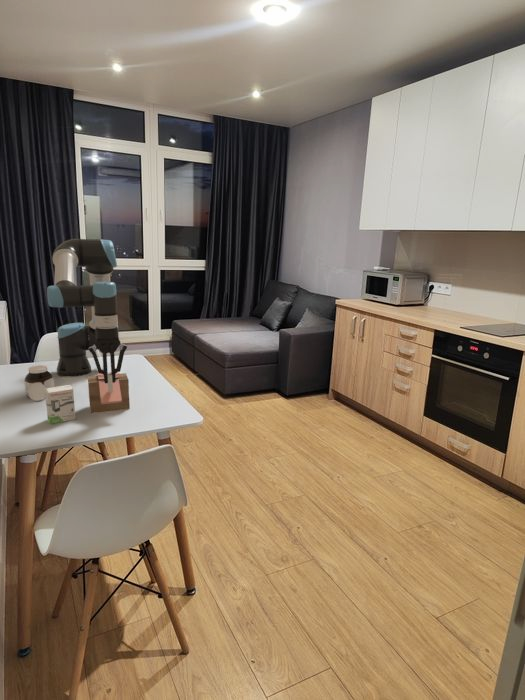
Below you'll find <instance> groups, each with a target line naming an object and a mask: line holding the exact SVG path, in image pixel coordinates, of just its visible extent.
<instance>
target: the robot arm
mask: <svg viewBox="0 0 525 700" xmlns="http://www.w3.org/2000/svg"><path fill="white" fill-rule="evenodd" d="M115 252H116V251H115V247H114V242H113V241H112V240H109V239H101V238H100V239H99V238H98V239H96V238H94V239H93V238H92V239H91V238H89V239H88V238H84V239H83V238H71V239H68V240H65V241H63V242H62V243H60V244H59V245H58V246H57V247H56V248H55V249H54V251H53V253H52V263H53V265H54V283H53V284H54V285H49V286H48V287H47V288H46V295H47V296H46V297H47V304H48V306H49V307H51V308H60V309H62V308H74V307H75V308H78V307H81V308H83V307H91V320H90V321H89V323H88V325H85V324H84V322H73V323H71V322H70V323H67V324H64V325H61V326H59V327H58V329H57V339H58V340H57V341H58V355H59V358H58V363H57V367H56V375H57V376H60V377H65V378H66V377H67V378H68V377H69V378H70V377H71V378H72V377H74V378H75V377H80V376H84V375H87V374H90V373H91V372H92V367H91V366H92V365H91V364H90V361H89V358H88V356H87V351H89V353H91V354H92V357H93V361H94V363H95V367H96V370H97V371H98V373H99V374H103V375H104V382H105V383H108V392H109V393H111V392H113V383H115V382H116V378H115V374H116V373H117V372H118V373H120V372H121V370H122V365H123V360H124V355H125V352H126V350H128V349H127V348H128V347H127V345H126V344H123V343H121V340H120V337H119V336H120V335H119V332H120V331H119V323H118V321H119V320H118V319H119V317H118V300H117V299H118V298H117V293H118V292H117V286H116V285H117V284H116V282H114V281H111V274H112V273H114V269H115V268H117V267H118V265H117V264H118V263H117V257H116V253H115ZM77 267H79V268H85V272H86V273H87V274H89V284H88V285H81V284H80V285H77ZM118 348H119V353H118V354H119V355H118V359H117V363H116V360H115V352H116V351H117V349H118ZM98 350H99V351H100V352H101V354H102V366H101V364H100V362H99V358H98V355H97V351H98ZM107 354H109V356H110V372H111V373H108V372H109V371H108V357H107V356H108V355H107ZM101 367H102V368H101Z"/></svg>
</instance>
